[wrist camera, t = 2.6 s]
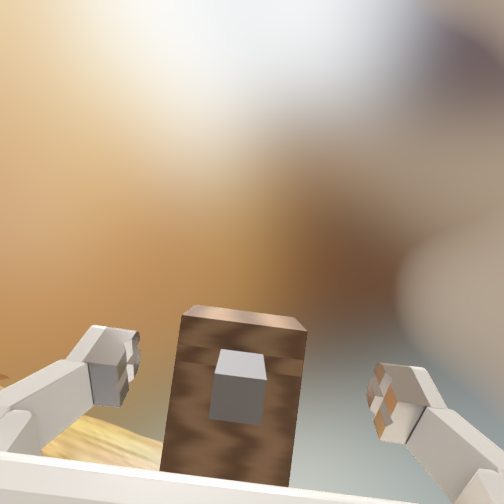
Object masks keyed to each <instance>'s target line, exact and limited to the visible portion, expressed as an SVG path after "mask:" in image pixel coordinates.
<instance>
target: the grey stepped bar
mask: <svg viewBox="0 0 504 504" xmlns="http://www.w3.org/2000/svg"><path fill="white" fill-rule="evenodd" d="M266 383H267V378H266V371H265V364H264V357H263V354H256V353H248V352H241V351H233V350H225V349H221V351H220V355H219V359H218V362H217V366H216V370H215V374H214V381H213V389H212V396H211V404H210V412H209V419H213V420H221V421H229V422H237V423H245V424H253V425H261V420H262V412H263V405H264V397H265V390H266Z"/></svg>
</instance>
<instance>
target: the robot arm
mask: <svg viewBox="0 0 504 504" xmlns="http://www.w3.org/2000/svg"><path fill="white" fill-rule="evenodd" d="M139 341H140V336H139V332H138V331H132V330H126V329H120V328H113V327H104V326H98V325H93V326H91V327H90V328H89V329H88V330H87V332H86V333H85V335H84V336H83V337H82V338H81V340H80V341H79V342H78V344H77V345H76V346H75V348H74V349H73V350H72V351H71V353H70V354H69V355H68V357H67V358H66V359H65V360H58V361H57V362H55V363H53V364H51V365H49V366H47V367H45V368H43V369H41V370H40V371H37V372H35V373H34V374H32V375H30V376H28V377H26V378H24V379H22V380H20V381H18V382H16V383H14V384H12V385H10V386H9V387H7V388H5V389H3V390H1V391H0V504H416V503H409V502H400V501H393V500H385V499H377V498H369V497H361V496H353V495H345V494H337V493H329V492H321V491H313V490H305V489H297V488H289V487H281V486H273V485H265V484H257V483H249V482H241V481H233V480H225V479H217V478H209V477H201V476H193V475H186V474H178V473H170V472H162V471H154V470H146V469H138V468H130V467H123V466H115V465H107V464H99V463H91V462H83V461H75V460H67V459H59V458H51V457H43V455H42V451H41V449H42V448H43V447H44V446H45V445H46V444H48V443H49V442H50V441H51V440H53V439H54V438H55V437H56V436H58V435H59V434H60V433H61V432H63V431H64V430H65V429H66V428H67V427H69V426H70V425H71V424H72V423H74V422H75V421H76V420H77V419H79V418H80V417H81V416H82V415H83V414H85V413H86V412H87V411H88V410H89V409H91V408H92V407H93V405H101V406H111V407H121V405H122V403H123V401H124V399H125V397H126V395H127V392H128V391H129V385H128V382H130V381H131V380H133V379H134V378H135V375H136V373H137V370H138V367H139V363H140V350H139V348H138V347H137V345H138V343H139ZM374 373H375V375H376V376H375V377H374V378H372V379H371V380H370V381H369V384H368V387H367V401H368V405H369V408H370V410H371V411H372V412H373V413H374V414H375V415H376V416H375V419H374V425H375V428H376V431H377V434H378V438H379V440H380V441H386V442H393V443H399V444H405V445H406V447H407V448H408V450H409V451H410V452H411V453H412V454H413V456H414V457H415V458H416V459H417V460H418V462H419V463H420V464H421V465H422V466H423V468H424V469H425V470H426V471H427V473H428V474H429V475H430V476H431V477H432V479H433V480H434V481H435V482H436V484H437V485H438V486H439V487H440V488H441V489H442V491H443V492H444V493H445V494H446V496H447V497H448V498H449V499H450V501H451V502H452V503H453V504H504V451H502V450H501V449H500V448H499V447H498V446H496V445H495V444H494V443H493V442H492V441H490V440H489V439H488V438H487V437H485V436H484V435H483V434H482V433H481V432H479V431H478V430H477V429H476V428H474V427H473V426H472V425H471V424H469V423H468V422H467V421H466V420H465V419H463V418H462V417H461V416H460V415H458V414H457V413H456V412H455V411H453V410H449V409H448V408H447V406H446V405H445V403H444V401H443V399H442V397H441V395H440V394H439V392H438V390H437V389H436V386H435V385H434V383H433V381H432V379H431V377H430V376H429V374H428V372H427V370H425V369H424V368H421V367H413V366H403V365H395V364H386V363H378V364H377V365H376V367H375V369H374Z"/></svg>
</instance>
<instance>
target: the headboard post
mask: <svg viewBox="0 0 504 504" xmlns="http://www.w3.org/2000/svg"><path fill="white" fill-rule="evenodd" d="M306 340H307V330H306V329H305V328H304V327H303V326H302V325H301V324H300V323H299V322H298V321H297V320H296V319H295V318H294V317H286V316H278V315H271V314H263V313H255V312H247V311H240V310H232V309H225V308H217V307H209V306H202V305H194V306H193V307H192V308H190V309H189V310H188V311H186V312H185V313H184V314H182V317H181V324H180V331H179V338H178V345H177V352H176V359H175V366H174V373H173V380H172V387H171V394H170V402H169V409H168V415H167V422H166V429H165V436H164V443H163V450H162V457H161V464H160V471H162V472H170V473H178V474H186V475H193V476H201V477H209V478H217V479H225V480H233V481H241V482H249V483H257V484H265V485H273V486H281V487H288V486H289V477H290V470H291V462H292V454H293V446H294V438H295V429H296V421H297V413H298V405H299V396H300V389H301V379H302V372H303V363H304V356H305V347H306ZM221 349H225V350H233V351H241V352H248V353H256V354H263V357H264V364H265V371H266V378H267V383H266V390H265V397H264V405H263V412H262V420H261V425H253V424H245V423H237V422H229V421H221V420H213V419H209V412H210V404H211V396H212V389H213V381H214V374H215V370H216V366H217V362H218V359H219V355H220V351H221Z"/></svg>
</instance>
